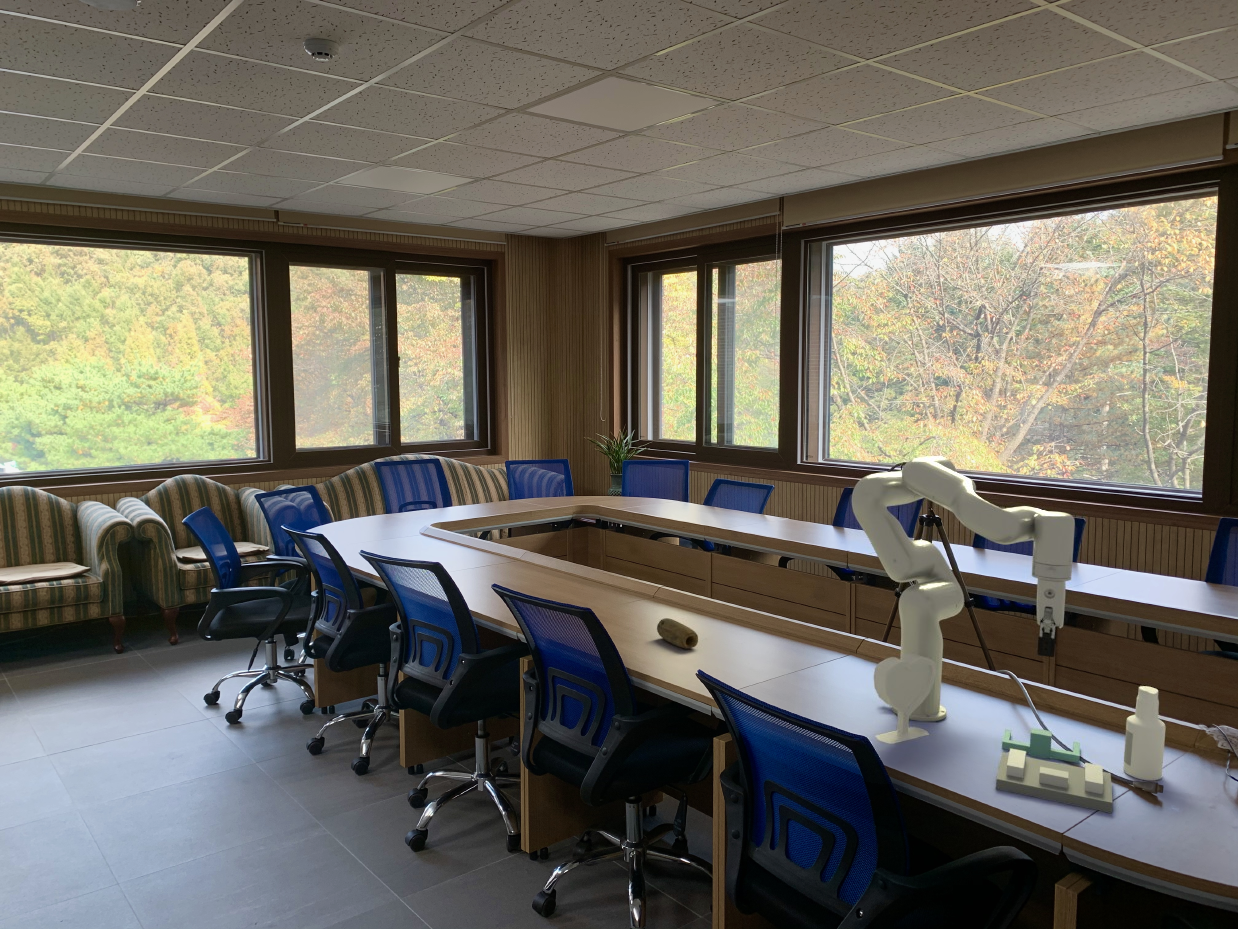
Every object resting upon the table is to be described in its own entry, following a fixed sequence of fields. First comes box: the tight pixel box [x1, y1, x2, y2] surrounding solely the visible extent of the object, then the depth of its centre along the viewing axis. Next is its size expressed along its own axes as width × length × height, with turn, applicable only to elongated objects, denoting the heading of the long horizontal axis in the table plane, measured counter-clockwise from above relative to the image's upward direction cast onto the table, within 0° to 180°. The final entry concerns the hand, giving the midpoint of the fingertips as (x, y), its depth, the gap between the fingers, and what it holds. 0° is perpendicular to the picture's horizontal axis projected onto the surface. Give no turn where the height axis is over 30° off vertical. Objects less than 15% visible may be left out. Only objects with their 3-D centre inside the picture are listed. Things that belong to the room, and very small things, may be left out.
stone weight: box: [656, 617, 699, 650], centre depth 264 cm, size 15×7×7 cm, turn 35°
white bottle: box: [1122, 685, 1167, 782], centre depth 180 cm, size 7×7×18 cm
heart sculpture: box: [873, 654, 936, 745], centre depth 198 cm, size 16×5×18 cm, turn 118°
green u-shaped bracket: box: [1001, 727, 1081, 764], centre depth 192 cm, size 15×10×5 cm, turn 62°
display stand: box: [995, 748, 1113, 814], centre depth 175 cm, size 20×14×4 cm
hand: (1046, 649), depth 187 cm, fingers open, 9 cm apart
